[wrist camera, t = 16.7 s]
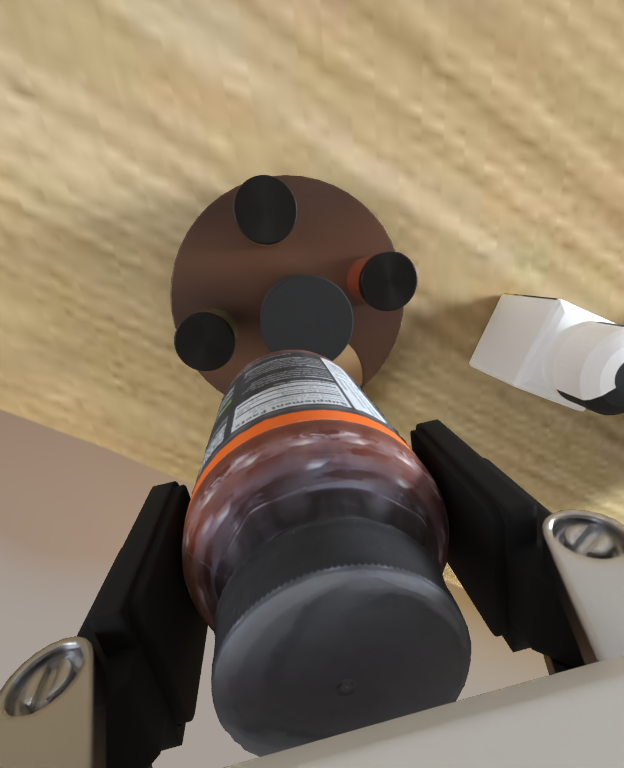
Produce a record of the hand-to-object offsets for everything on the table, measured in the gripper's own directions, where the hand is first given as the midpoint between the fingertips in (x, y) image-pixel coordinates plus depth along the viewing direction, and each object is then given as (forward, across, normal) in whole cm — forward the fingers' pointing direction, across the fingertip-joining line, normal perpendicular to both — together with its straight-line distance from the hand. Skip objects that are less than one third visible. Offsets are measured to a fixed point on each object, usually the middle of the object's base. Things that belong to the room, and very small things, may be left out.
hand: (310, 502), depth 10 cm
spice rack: (+22, -2, -2) cm, 23 cm away
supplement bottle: (+7, 0, 0) cm, 7 cm away
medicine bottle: (+24, -22, +5) cm, 33 cm away
